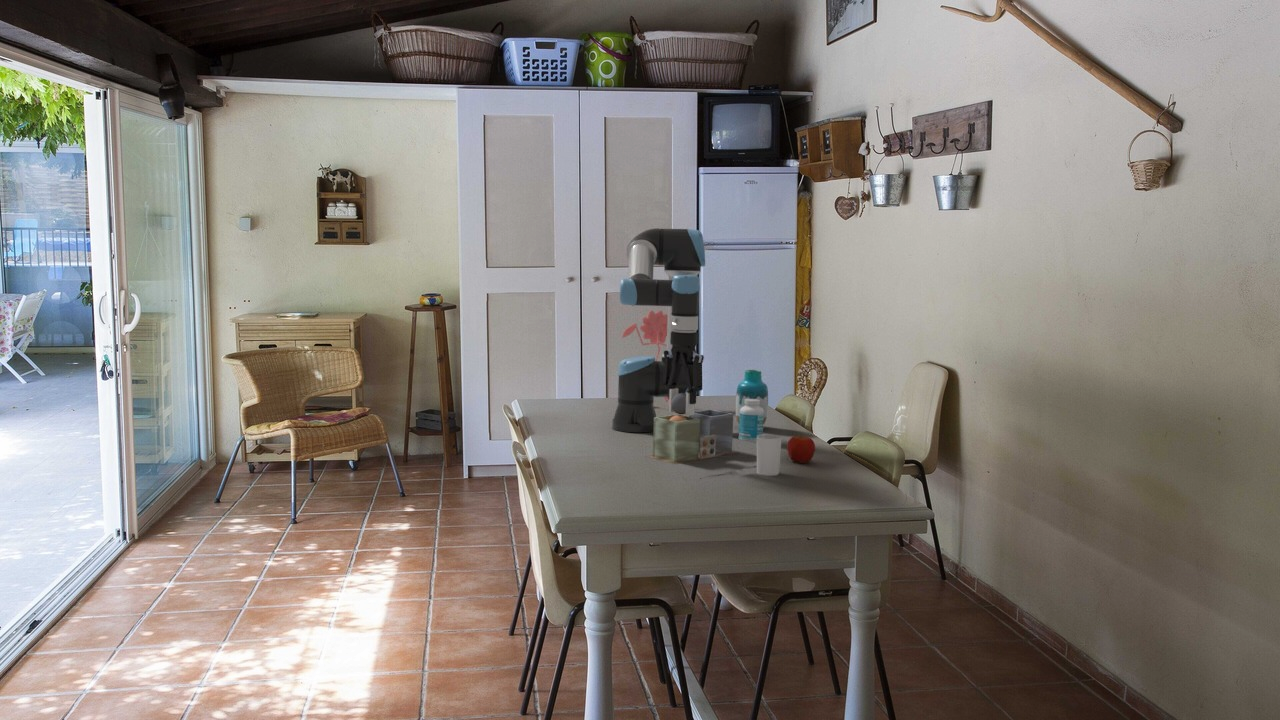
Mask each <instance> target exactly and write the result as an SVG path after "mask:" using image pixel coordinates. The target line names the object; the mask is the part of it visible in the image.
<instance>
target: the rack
mask: <svg viewBox="0 0 1280 720" xmlns="http://www.w3.org/2000/svg"><path fill="white" fill-rule="evenodd" d="M675 415H679V414H677V413H675V414H669V415H663V416H662V415H661V416H656V417H654V431H653V435H652V436H653V437H652V438H653V440H652V441H653V442H652V454H651V455H645V457H646V458H651V459H654V460H656V461H657V460H659V461H662V462H666V463H668V464H669V463H670V464H672V465H673V464H674V465H679V464H685V463H689V462H695V461H700V460H704V459H709V458H715V457H720V456H724V455H726V456H727V455H731V454H735V453H736V454H737V453H739V450H738V451H737V450H733V434H734V431H733V429H734V413H732V412H731V413H730V412H725V411H720V410H715V409H710V408H709V409H704V410H696V411H694V415H690V416H685V415H684V414H680V415H681V416H684V417H685V418H686V419H687V420H686V421H679V422H676V421H671V420H670V418H671V417H673V416H675Z"/></svg>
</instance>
